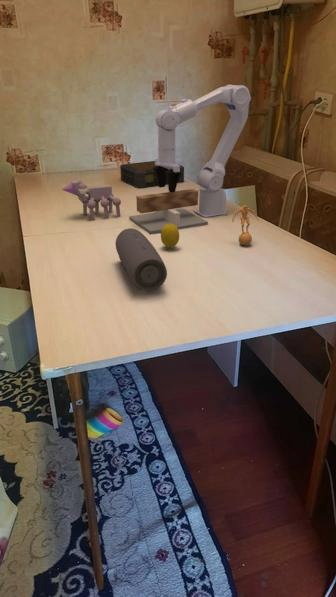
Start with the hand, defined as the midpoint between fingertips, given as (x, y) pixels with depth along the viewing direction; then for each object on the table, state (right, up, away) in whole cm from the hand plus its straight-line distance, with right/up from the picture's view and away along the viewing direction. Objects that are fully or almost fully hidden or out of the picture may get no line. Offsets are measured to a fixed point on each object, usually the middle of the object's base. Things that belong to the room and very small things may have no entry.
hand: (166, 189), depth 154 cm
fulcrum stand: (0, -11, +1) cm, 11 cm away
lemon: (+1, -23, -22) cm, 32 cm away
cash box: (-7, +17, +56) cm, 59 cm away
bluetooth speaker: (-7, -33, -39) cm, 51 cm away
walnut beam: (0, -7, -1) cm, 7 cm away
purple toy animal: (-27, -9, +6) cm, 29 cm away
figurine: (+24, -22, -18) cm, 37 cm away
